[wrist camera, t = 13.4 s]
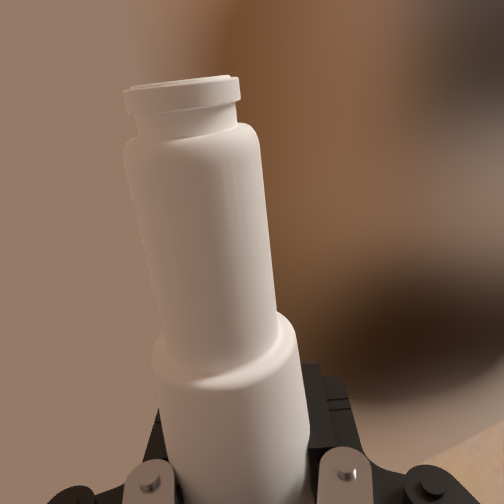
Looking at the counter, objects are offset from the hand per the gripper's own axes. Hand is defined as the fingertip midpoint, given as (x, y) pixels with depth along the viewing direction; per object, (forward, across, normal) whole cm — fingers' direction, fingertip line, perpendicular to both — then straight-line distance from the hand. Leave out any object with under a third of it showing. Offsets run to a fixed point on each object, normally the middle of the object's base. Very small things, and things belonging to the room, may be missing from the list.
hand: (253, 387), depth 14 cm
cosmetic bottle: (-3, 0, +12) cm, 13 cm away
